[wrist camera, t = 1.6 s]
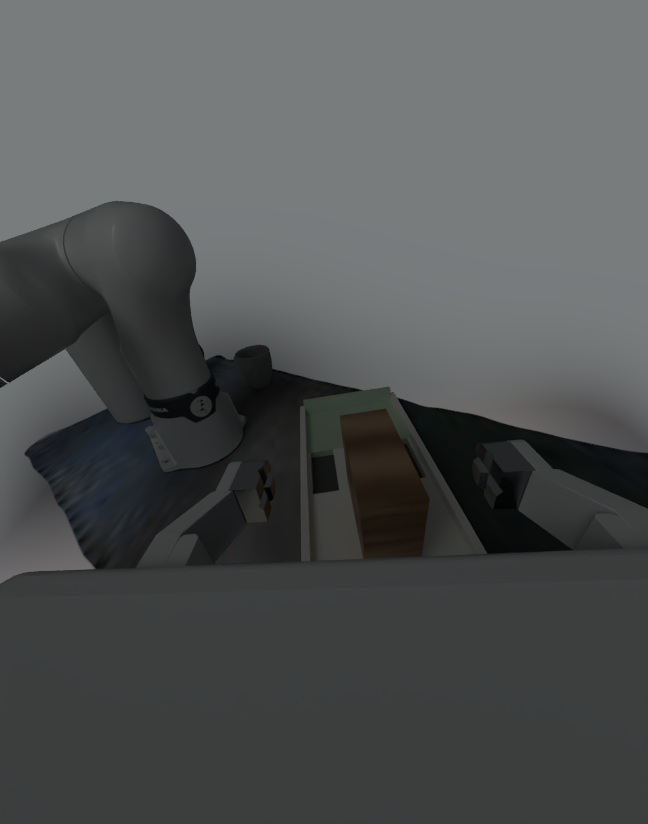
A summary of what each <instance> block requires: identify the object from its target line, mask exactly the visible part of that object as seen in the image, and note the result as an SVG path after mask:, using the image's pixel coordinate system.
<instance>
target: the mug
mask: <svg viewBox="0 0 648 824" xmlns="http://www.w3.org/2000/svg"><path fill="white" fill-rule="evenodd" d="M234 363H235V365H236V367H237V369H238V370H239V372H240V373H241V374H242V375H243V376H244V378H245V379H246V380H247V381H248V383H249V384H250V385H251V386H252V388H254V389H262V388H265V387H267V386H269V385H270V383H271V376H272V361H271V356H270V352H269V349H268V347H266V346H264V345H255V346H249V347H246V348H244V349H241V350H239V351H238V352H237V353H236V354H235V356H234Z"/></svg>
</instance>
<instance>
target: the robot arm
mask: <svg viewBox="0 0 648 824" xmlns="http://www.w3.org/2000/svg"><path fill="white" fill-rule="evenodd" d="M195 272H196V259H195V254H194V250H193V247H192V245H191V243H190V240H189V238H188V236H187V235H186V233H185V232H184V230H183V229H182V228H181V226H180V225H179V224H178V223H177V222H176V221H175V220H174V219H173V218H172V217H170V216H169V215H168V214H166V213H165V212H163V211H162V210H160V209H158V208H155V207H153V206H150V205H145V204H140V203H133V202H122V201H113V202H108V203H104V204H102V205H99V206H97V207H95V208H92V209H90V210H88V211H85V212H82V213H80V214H77V215H75V216H72V217H70V218H67V219H65V220H63V221H60V222H57V223H54V224H51V225H48V226H46V227H43V228H40V229H37V230H34V231H31V232H29V233H26V234H23V235H20V236H17V237H14V238H11V239H8V240H5V241H2V242H0V377H1V378H3V379H4V380H6V381H7V382H11V381H13V380H14V379H16V378H18V377H19V376H21V375H23V374H24V373H26V372H28V371H29V370H31V369H33V368H34V367H36V366H37V365H39V364H41V363H43V362H44V361H46V360H48V359H49V358H51V357H52V356H54V355H56V354H57V353H59V352H61V351H62V350H64V349H66V348H67V347H69V346H71V345H73V344H74V343H75V342H76V341H77V340H78V339H79V337H80V335H81V334H82V333H83V332H84V331H86V330H87V329H88V328H89V327H90V326H91V325H92V324H94V323H95V322H96V321H97V320H98V319H100V318H101V317H102V316H103V315H105V314H106V313H108V312H109V311H111V314H112V317H113V320H114V323H115V326H116V329H117V332H118V335H119V339H120V353H121V355H122V357H123V359H124V360H125V362H126V364H127V365H128V367H129V369H130V370H131V372H132V374H133V375H134V377H135V379H136V380H137V382H138V384H139V386H140V387H141V389H142V391H143V392H144V399H145V403H146V405H147V407H148V408H149V409H150V411H151V413H152V414H151V416H150V418H151V420H152V422H153V424H154V425H153V426H150V427H147V428H146V429H145V431H146V432H147V434H148V436H149V437H150V439H151V442H152V444H153V447H154V450H155V452H156V455H157V457H158V460H159V463H160V465H161V468H162V470H163V471H164V472H170V471H174V470H178V469H182V468H197V467H202V466H206V465H209V464H212V463H214V462H216V461H218V460H220V459H222V458H224V457H225V456H227V455H228V454H229V453H231V452H232V451H233V450H234V449H235V448H236V447H237V446H238V445H239V443H240V442H241V440H242V437H243V427H244V425H245V424H246V422H247V420H246V418H245V416H243V415H239V414H238V413H237V411H236V409H235V407H234V405H233V403H232V401H231V398H230V396H229V395H228V393H225V392H223V391H220V389H219V386H218V383H217V380H216V378H215V377H214V375H213V373H212V372H211V371H209V369H208V366H207V364H206V361H205V359H204V356H203V354H202V351H201V349H200V346H199V344H198V341H197V339H196V335H195V332H194V328H193V323H192V318H191V309H190V295H189V294H190V287H191V285H192V282H193V280H194V277H195ZM6 384H7V383H5V382H4V381H3V380H1V379H0V388H1V387H3V386H4V385H6ZM475 452H476V454H477V455H478V457H477V458H476V459H475V460H474V461H473V466H472V470H473V476H474V479H475V481H476V483H477V484H478V486H480V487H482V488H483V489H485V492H484V496H485V498H486V499H487V501H488V503H489V504H490V506H491V507H492V509H518V510H519V511H520V512H522V513H523V514H524V515H526V516H527V517H529V518H530V519H531V520H533V521H534V522H535V523H537V524H538V525H540V526H541V527H542V528H544V529H545V530H546V531H548V532H549V533H551V534H552V535H553V536H555V537H556V538H557V539H559V540H560V541H562V542H563V543H564V544H566V545H567V546H568V547H570V548H571V549H573V550H572V551H547V552H522V553H496V554H471V555H446V556H421V557H396V558H371V559H346V560H320V561H294V562H268V563H243V564H218V565H215V564H214V563H215V561H216V560H217V559H218V558H219V557H220V555H221V554H222V553H223V552H224V551H225V550H226V548H227V547H228V546H229V545H230V544H231V543H232V541H233V540H234V539H235V538H236V537H237V535H238V534H239V533H240V532H241V531H242V530H243V528H244V527H245V526H246V525H247V524H246V523H257V522H268V518H269V514H270V510H271V505H270V501H271V500H272V499H273V498H274V494H275V481H274V477H273V475H272V474H271V473H270V472H269V471H270V464H269V461H268V460H253V461H238V462H231V463H229V465H228V467H227V469H226V471H225V473H224V475H223V477H222V479H221V481H220V483H219V485H218V487H217V489H216V491H215V492H211V493H210V494H208V495H207V496H206V497H205V498H203V499H202V500H201V501H199V502H198V503H197V504H196V505H194V506H193V507H192V508H190V509H189V510H188V511H186V512H185V513H184V514H183V515H181V516H180V517H179V518H177V519H176V520H175V521H174V522H172V523H171V524H170V525H168V526H167V527H166V528H165V529H163V530H162V531H161V532H159V533H158V534H157V535H156V536H155V538H154V539H153V541H152V542H151V544H150V546H149V547H148V549H147V550H146V552H145V554H144V555H143V557H142V558H141V560H140V562H139V563H138V565H137V566H136V568H118V569H92V570H65V571H37V572H27V573H22V574H19V575H16V576H13V577H12V578H10V579H8V580H6V581H5V582H3V583H1V584H0V824H648V509H647V508H645V507H643V506H640V505H638V504H636V503H634V502H631V501H629V500H627V499H624V498H622V497H620V496H618V495H615V494H613V493H611V492H609V491H606V490H604V489H602V488H600V487H597V486H595V485H593V484H591V483H588V482H586V481H584V480H581V479H579V478H577V477H575V476H572V475H570V474H568V473H566V472H563V471H561V470H559V469H553V468H552V467H551V466H550V465H549V464H548V463H547V462H546V461H545V460H544V459H543V458H542V457H541V456H540V455H539V454H538V453H537V452H536V451H535V450H534V449H533V448H532V447H531V446H530V445H529V444H528V443H527V442H526V441H524V440H512V441H504V442H492V443H480V444H478V445H477V447H476V451H475Z"/></svg>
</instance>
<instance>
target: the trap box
mask: <svg viewBox="0 0 648 824" xmlns="http://www.w3.org/2000/svg"><path fill="white" fill-rule="evenodd" d="M303 401H304V406H301V407H300V465H301V561H320V560H346V559H363V556H362V551H361V546H360V541H359V536H358V531H357V525H356V520H355V515H354V510H353V505H352V500H351V495H350V489H349V484H348V479H347V471H346V463H345V455H344V447H343V438H342V430H341V422H340V416H341V415H347V414H354V413H360V412H367V411H373V410H380V409H386V410H387V412H388V414H389V416H390V418H391V420H392V422H393V424H394V426H395V428H396V430H397V432H398V434H399V436H400V438H401V440H402V442H403V444H404V447H405V449H406V451H407V453H408V455H409V457H410V459H411V461H412V463H413V465H414V467H415V469H416V471H417V473H418V475H419V477H420V479H421V482H422V484H423V486H424V488H425V490H426V492H427V494H428V496H429V498H430V501H429V508H428V515H427V522H426V529H425V536H424V543H423V550H422V556H446V555H471V554H487V552H486V550H485V549H484V547H483V545H482V543H481V542H480V540H479V538H478V537H477V535H476V533H475V531H474V530H473V528H472V526H471V525H470V523H469V521H468V519H467V518H466V516H465V514H464V513H463V511H462V509H461V507H460V506H459V504H458V502H457V500H456V499H455V497H454V495H453V494H452V492H451V490H450V488H449V487H448V485H447V483H446V482H445V480H444V478H443V476H442V475H441V473H440V471H439V469H438V468H437V466H436V464H435V463H434V461H433V459H432V457H431V456H430V454H429V452H428V451H427V449H426V447H425V445H424V444H423V442H422V440H421V438H420V437H419V435H418V433H417V432H416V430H415V428H414V426H413V425H412V423H411V421H410V420H409V418H408V416H407V414H406V413H405V411H404V409H403V408H402V406H401V404H400V402H399V401H398V399H397V397H396V395H395V394H394V393H393V392H392V393H390V388H389V387H384V388H378V389H371V390H365V391H358V392H352V393H345V394H339V395H332V396H326V397H319V398H313V399H307V400H303Z"/></svg>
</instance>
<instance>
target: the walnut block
mask: <svg viewBox="0 0 648 824" xmlns="http://www.w3.org/2000/svg"><path fill="white" fill-rule="evenodd" d="M340 422H341V430H342V438H343V447H344V455H345V463H346V471H347V479H348V484H349V489H350V495H351V500H352V505H353V510H354V515H355V520H356V525H357V531H358V536H359V541H360V546H361V551H362V556H363V559H371V558H396V557H421V556H422V550H423V543H424V536H425V529H426V522H427V515H428V508H429V501H430V498H429V496H428V494H427V492H426V490H425V488H424V486H423V484H422V482H421V479H420V477H419V475H418V473H417V471H416V469H415V467H414V465H413V463H412V461H411V459H410V457H409V455H408V453H407V451H406V449H405V447H404V444H403V442H402V440H401V438H400V436H399V434H398V432H397V430H396V428H395V426H394V424H393V422H392V420H391V418H390V416H389V414H388V412H387V410H386V409H380V410H373V411H367V412H360V413H354V414H347V415H341V416H340Z"/></svg>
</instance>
